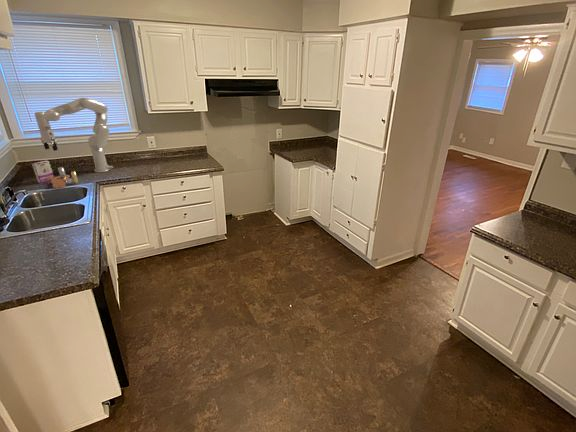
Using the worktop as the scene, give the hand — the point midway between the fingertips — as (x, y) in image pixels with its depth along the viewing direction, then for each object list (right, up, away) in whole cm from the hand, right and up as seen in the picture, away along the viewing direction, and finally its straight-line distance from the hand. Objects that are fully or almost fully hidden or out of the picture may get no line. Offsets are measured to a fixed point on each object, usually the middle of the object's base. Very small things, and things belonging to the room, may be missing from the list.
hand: (51, 149), depth 254 cm
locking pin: (+19, -27, +2) cm, 34 cm away
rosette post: (+9, -28, +1) cm, 29 cm away
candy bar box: (-8, -25, +5) cm, 27 cm away
